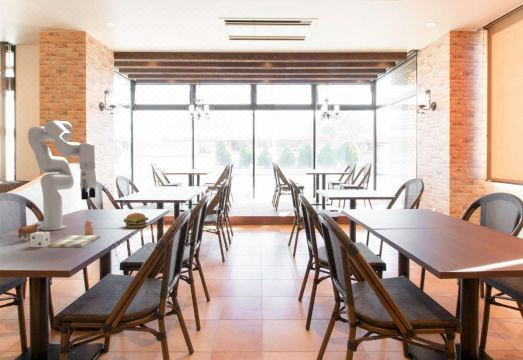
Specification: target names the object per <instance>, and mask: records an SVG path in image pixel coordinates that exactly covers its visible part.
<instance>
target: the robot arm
mask: <svg viewBox="0 0 523 360" xmlns="http://www.w3.org/2000/svg"><path fill="white" fill-rule="evenodd" d="M73 130H74V129H73V125H72V124H71V123H70V122H68V121H65V120H64V121H61V120H49V121H46V122H45V123H44V126H41V125H36V126H32V127H30V128H29V129H28V131H27V140H28V144H29V146H30V147H31V149H32V150H33V154H34V157H35V160H36V163H37V167H38V168H39V171H40V172H41V173H43V174H44V175H42V177H41V178H40V186H41V192H42V200H43V201H42V204H43V206H42V207H43V208H42V209H43V220H42V221H40V220H38V221H37V222H39V223H41V225H42V226H43V227H42V228H40V229H41V230H42V231H55V230H56V231H57V230H62V229H65V228H66V225H65V224H63V223H64V222H63V198H62V195H61V194H60V190H69V189H72V187H73V186H74V184H75V183H74V177H73V173H72V169H71V167H70V165H69V162H68V159H66V158H75V157H77V158H79V160H78V161H79V170H80V176H79V177H80V183H79V186H80V193H81V194H80V197H81V200H84V201H85V200H89V198H91V199H92V198H93V199H94V198H96V187H97V175H96V173H97V172H96V155H95V154H96V153H95V144H94V143H93V142H70V141H71V140H72V134H73ZM45 142H54V147H55V149H56V150H57V152H59V153H60V154H61V155H62V156H53V154H52V150H51V149H50V147H49V146H48V145H47V144H46V143H45ZM63 156H64V157H63ZM65 157H66V158H65Z"/></svg>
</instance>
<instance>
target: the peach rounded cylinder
mask: <svg viewBox="0 0 523 360" xmlns="http://www.w3.org/2000/svg"><path fill="white" fill-rule="evenodd" d="M84 235H94V224H93V221H92V220H91V219H87V220H86V221H85V223H84Z"/></svg>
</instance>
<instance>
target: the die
mask: <svg viewBox="0 0 523 360" xmlns="http://www.w3.org/2000/svg"><path fill="white" fill-rule="evenodd" d="M50 235H51V232H50V231H36V232H35V233H32V234H29V239H30V240H29V242H30V243H29V244H30V248H44V247H47V246H48V245H49V244H51V236H50Z"/></svg>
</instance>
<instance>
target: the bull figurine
mask: <svg viewBox="0 0 523 360" xmlns="http://www.w3.org/2000/svg"><path fill="white" fill-rule="evenodd" d="M42 227H43V226H42V225H41V223H39V222H38V221H37V222H34V223H32V224H29V225H27V226H22V227H20V228H18V230H17V232H18V237H17V238H18V241H19V242H22V240H21V238H22V239H23V240H25V241H27V242H30V240H29V239H28V237H29V236H30V234H32V233H35V232H38V230H39V229H41V228H42Z"/></svg>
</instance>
